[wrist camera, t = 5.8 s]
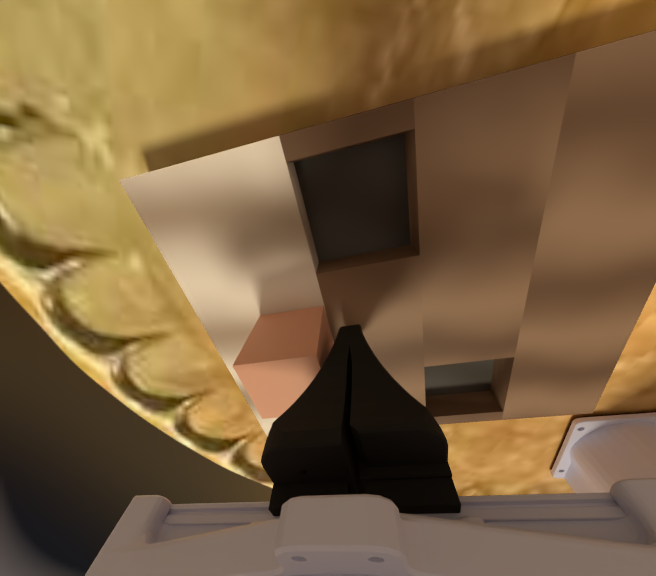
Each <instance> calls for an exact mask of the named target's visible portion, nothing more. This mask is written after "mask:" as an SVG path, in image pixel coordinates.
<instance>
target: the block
mask: <svg viewBox="0 0 656 576" xmlns="http://www.w3.org/2000/svg"><path fill="white" fill-rule="evenodd" d="M332 346H333V340H332V336H331V332H330V329H329V325H328V321H327V318H326V314H325V310H324V307H323V306H318V307H312V308H306V309H299V310H293V311H286V312H280V313H274V314H267V315H261V316H259V318H258V320H257V322H256V324H255V326H254V327H253V329H252V331H251V333H250V335H249V336H248V338H247V340H246V342H245V344H244V346H243V347H242V349H241V351H240V353H239V355H238V356H237V358H236V360H235V362H234V364H233V368H234V370H235V371H236V373H237V375H238V377H239V378H240V380H241V382H242V384H243V386H244V387H245V389H246V391H247V393H248V394H249V396H250V398H251V400H252V401H253V403H254V405H255V407H256V409H257V410H258V412H259V414H260V416H261V417H262V419H266V418H278V417H280V416H281V415H282V414H283V413H284V412H285V411H286V410H287V409H288V408H289V407H290V406H291V405H292V404H293V403H294V402H295V401H296V400H297V399H298V398H299V397H300V396H301V394H302V393H303V392H304V391H305V390H306V389H307V387H308V386H309V385H310V383H311V382H312V381H313V379H314V378H315V376H316V375H317V374H318V372H319V370H320V369H321V367H322V366H323V364H324V362H325V360H326V358H327V357H328V355H329V353H330V351H331V349H332Z"/></svg>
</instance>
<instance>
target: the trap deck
mask: <svg viewBox="0 0 656 576" xmlns="http://www.w3.org/2000/svg"><path fill="white" fill-rule="evenodd" d="M119 181H120V182H121V184H122V186H123V188H124V189H125V191H126V193H127V195H128V196H129V198H130V200H131V201H132V203H133V205H134V207H135V208H136V210H137V212H138V214H139V215H140V217H141V219H142V221H143V222H144V224H145V226H146V227H147V229H148V231H149V233H150V234H151V236H152V238H153V240H154V241H155V243H156V245H157V246H158V248H159V250H160V252H161V253H162V255H163V257H164V259H165V260H166V262H167V264H168V266H169V267H170V269H171V271H172V272H173V274H174V276H175V278H176V279H177V281H178V283H179V285H180V286H181V288H182V290H183V291H184V293H185V295H186V297H187V298H188V300H189V302H190V304H191V305H192V307H193V309H194V311H195V312H196V314H197V316H198V317H199V319H200V321H201V323H202V324H203V326H204V328H205V330H206V331H207V333H208V335H209V336H210V338H211V340H212V342H213V343H214V345H215V347H216V349H217V350H218V352H219V354H220V356H221V357H222V359H223V361H224V362H225V364H226V366H227V368H228V369H229V371H230V373H231V375H232V376H233V378H234V380H235V381H236V383H237V385H238V387H239V388H240V390H241V392H242V394H243V395H244V397H245V399H246V401H247V402H248V404H249V406H250V407H251V409H252V411H253V413H254V414H255V416H256V418H257V420H258V421H259V423H260V425H261V426H262V428H263V430H264V432H265V433H266V435H267V437H268V434H269V431H270V429H271V426H272V424H273V422H274V421H275V420H276V419H277V418H266V419H262V417H261V416H260V414H259V412H258V410H257V409H256V407H255V405H254V403H253V401H252V400H251V398H250V396H249V394H248V393H247V391H246V389H245V387H244V386H243V384H242V382H241V380H240V378H239V377H238V375H237V373H236V371H235V370H234V368H233V364H234V362H235V360H236V358H237V356H238V355H239V353H240V351H241V349H242V347H243V346H244V344H245V342H246V340H247V338H248V336H249V335H250V333H251V331H252V329H253V327H254V326H255V324H256V322H257V320H258V318H259V316H261V315H267V314H274V313H280V312H286V311H293V310H299V309H306V308H312V307H318V306H323V307H324V310H325V314H326V318H327V321H328V325H329V329H330V332H331V336H332V340H333V344H334V342H335V339H336V337H337V334H338V331H339V328H340V327H343V326H350V325H357V324H359V325H361V329H362V332H363V335H364V337H365V339H366V341H367V343H368V344H369V346H370V348H371V350H372V351H373V353H374V354H375V356H376V357H377V359H378V360H379V361H380V363H381V364H382V365H383V367H384V368H385V369H386V370H387V371H388V373H389V374H390V375H391V376H392V377H393V378H394V379H395V380H396V381H397V382H398V383H399V384H400V385H401V386H402V387H403V388H404V389H405V390H406V391H407V392H408V393H409V394H410V395H412V396H413V397H414V398H415V399H416V400H417V401H419V402H420V403H421V404H422V405H424V406H425V407H426V408H427V409H429V411H430V412H431V414H432V415H433V417H434V418H435V420H436V421H437V423H438V424H451V423H465V422H479V421H492V420H506V419H520V418H534V417H547V416H561V415H575V414H589V413H593V411H594V409H595V407H596V405H597V403H598V401H599V399H600V397H601V395H602V393H603V391H604V388H605V386H606V384H607V382H608V380H609V378H610V376H611V374H612V372H613V370H614V368H615V366H616V364H617V362H618V359H619V357H620V355H621V353H622V351H623V349H624V347H625V345H626V343H627V341H628V339H629V337H630V335H631V333H632V330H633V328H634V326H635V324H636V322H637V320H638V318H639V316H640V314H641V312H642V310H643V308H644V306H645V303H646V301H647V299H648V297H649V295H650V293H651V291H652V289H653V287H654V285H655V283H656V30H655V31H651V32H647V33H644V34H640V35H637V36H633V37H630V38H626V39H622V40H619V41H615V42H612V43H608V44H605V45H601V46H597V47H594V48H590V49H587V50H583V51H580V52H576V53H572V54H569V55H565V56H562V57H558V58H555V59H551V60H547V61H544V62H540V63H537V64H533V65H530V66H526V67H522V68H519V69H515V70H512V71H508V72H505V73H501V74H497V75H494V76H490V77H487V78H483V79H480V80H476V81H472V82H469V83H465V84H462V85H458V86H455V87H451V88H447V89H444V90H440V91H437V92H433V93H430V94H426V95H422V96H419V97H415V98H412V99H408V100H404V101H401V102H397V103H394V104H390V105H387V106H383V107H379V108H376V109H372V110H369V111H365V112H362V113H358V114H354V115H351V116H347V117H344V118H340V119H337V120H333V121H329V122H326V123H322V124H319V125H315V126H312V127H308V128H304V129H301V130H297V131H294V132H290V133H287V134H283V135H279V136H276V137H272V138H269V139H265V140H262V141H258V142H254V143H251V144H247V145H244V146H240V147H237V148H233V149H229V150H226V151H222V152H219V153H215V154H212V155H208V156H204V157H201V158H197V159H194V160H190V161H187V162H183V163H179V164H176V165H172V166H169V167H165V168H162V169H158V170H154V171H151V172H147V173H144V174H140V175H137V176H133V177H129V178H126V179H122V180H119Z"/></svg>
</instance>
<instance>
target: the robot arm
mask: <svg viewBox="0 0 656 576" xmlns="http://www.w3.org/2000/svg"><path fill="white" fill-rule="evenodd" d="M261 463H262V465H263V468H264V469H265V471H266V472H267V474H268V475H269V477H270V478H271V480H272V481H273V483H274V485H273V489H272V494H271V499H270V502H244V503H243V502H241V503H207V504H205V503H204V504H171V502H170V501H169V500H168V499H167V498H165V497H163V496H160V495H145V496H136V497H134V498H133V500H132V501H131V503H130V504H129V506H128V508H127V509H126V511H125V512H124V514H123V515H122V517H121V519H120V520H119V522H118V523H117V525H116V527H115V528H114V530H113V531H112V533H111V535H110V536H109V538H108V539H107V541H106V543H105V544H104V546H103V547H102V549H101V551H100V552H99V554H98V556H97V557H96V558H95V560H94V562H93V564H92V565H91V566H90V568H89V570H88V571H87V573H86V574H85V576H656V412H653V413H639V414H625V415H611V416H597V417H583V418H576V419H574V420H573V421H572V424H571V426H570V428H569V431H568V433H567V435H566V438H565V440H564V442H563V445H562V447H561V449H560V452H559V454H558V456H557V458H556V461H555V463H554V465H553V468H552V470H551V474H552V476H553V477H554V478H565V480H566V481H567V482H568V484H569V485H570V487H571V488H572V489H573V491H574V492H575V493H568V494H531V495H495V496H459V497H458V494H457V491H456V489H455V486H454V483H453V480H452V473H451V470H450V467H449V464H448V443H447V440H446V438H445V435H444V433H443V431H442V430H441V428H440V426H439V424H438V423H437V421H436V420H435V418H434V417H433V415H432V414H431V412H430V411H429V409H427V408H426V407H425V406H424V405H422V404H421V403H420V402H419V401H417V400H416V399H415V398H414V397H413V396H412V395H410V394H409V393H408V392H407V391H406V390H405V389H404V388H403V387H402V386H401V385H400V384H399V383H398V382H397V381H396V380H395V379H394V378H393V377H392V376H391V375H390V374H389V373H388V371H387V370H386V369H385V368H384V367H383V365H382V364H381V363H380V361H379V360H378V359H377V357H376V356H375V354H374V353H373V351H372V350H371V348H370V346H369V344H368V343H367V341H366V339H365V337H364V335H363V332H362V329H361V325H359V324H357V325H350V326H343V327H340V328H339V331H338V334H337V337H336V339H335V342H334V344H333V346H332V349H331V351H330V353H329V355H328V357H327V358H326V360H325V362H324V364H323V366H322V367H321V369H320V370H319V372H318V374H317V375H316V376H315V378H314V379H313V381H312V382H311V383H310V385H309V386H308V387H307V389H306V390H305V391H304V392H303V393H302V394H301V396H300V397H299V398H298V399H297V400H296V401H295V402H294V403H293V404H292V405H291V406H290V407H289V408H288V409H287V410H286V411H285V412H284V413H283V414H282V415H281V416H280V417H278V418H277V419H276V420H275V421H274V422H273V424H272V426H271V429H270V431H269V434H268V437H267V440H266V443H265V447H264V451H263V454H262V459H261Z"/></svg>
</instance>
